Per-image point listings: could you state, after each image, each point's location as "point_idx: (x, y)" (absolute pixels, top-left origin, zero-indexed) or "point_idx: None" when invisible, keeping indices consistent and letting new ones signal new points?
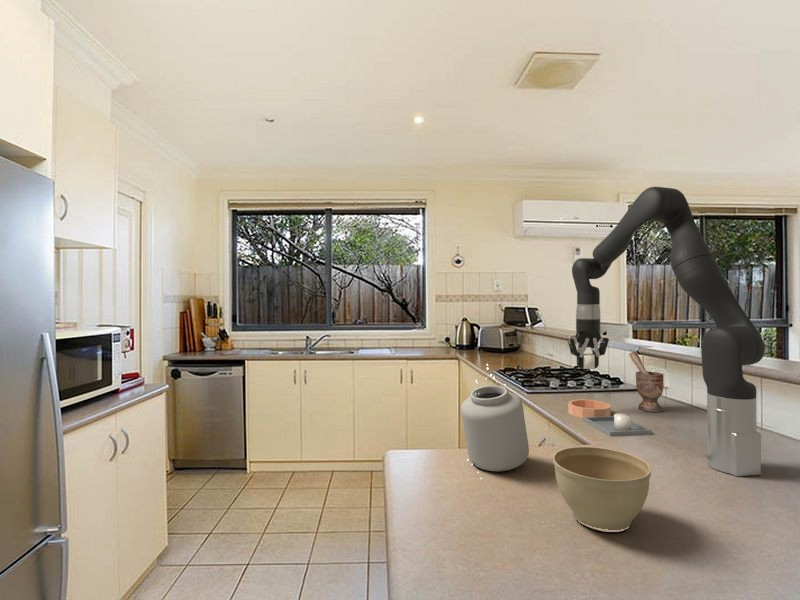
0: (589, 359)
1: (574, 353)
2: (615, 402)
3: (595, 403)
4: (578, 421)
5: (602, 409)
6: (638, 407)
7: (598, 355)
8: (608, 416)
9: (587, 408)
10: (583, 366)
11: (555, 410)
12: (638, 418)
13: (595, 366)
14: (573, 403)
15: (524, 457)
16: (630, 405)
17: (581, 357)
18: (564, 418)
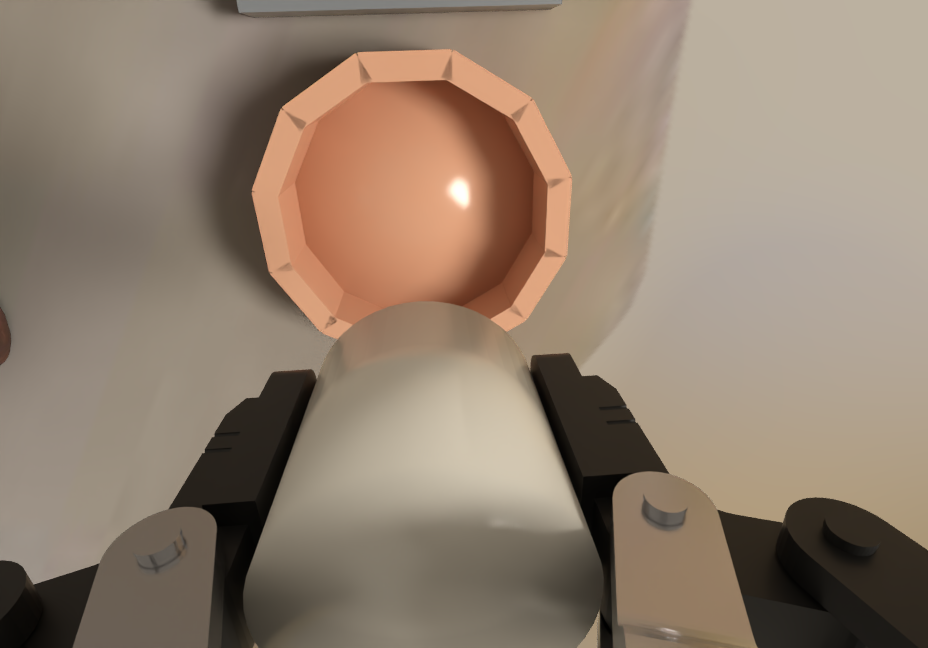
0: (460, 396)
1: (911, 544)
2: (127, 479)
3: (331, 301)
4: (556, 74)
5: (377, 52)
6: (5, 350)
7: (153, 534)
8: (349, 4)
9: (496, 87)
10: (529, 371)
11: (568, 340)
12: (79, 108)
13: (306, 376)
14: (493, 308)
15: None
16: (47, 418)
17: (612, 497)
18: (610, 160)
